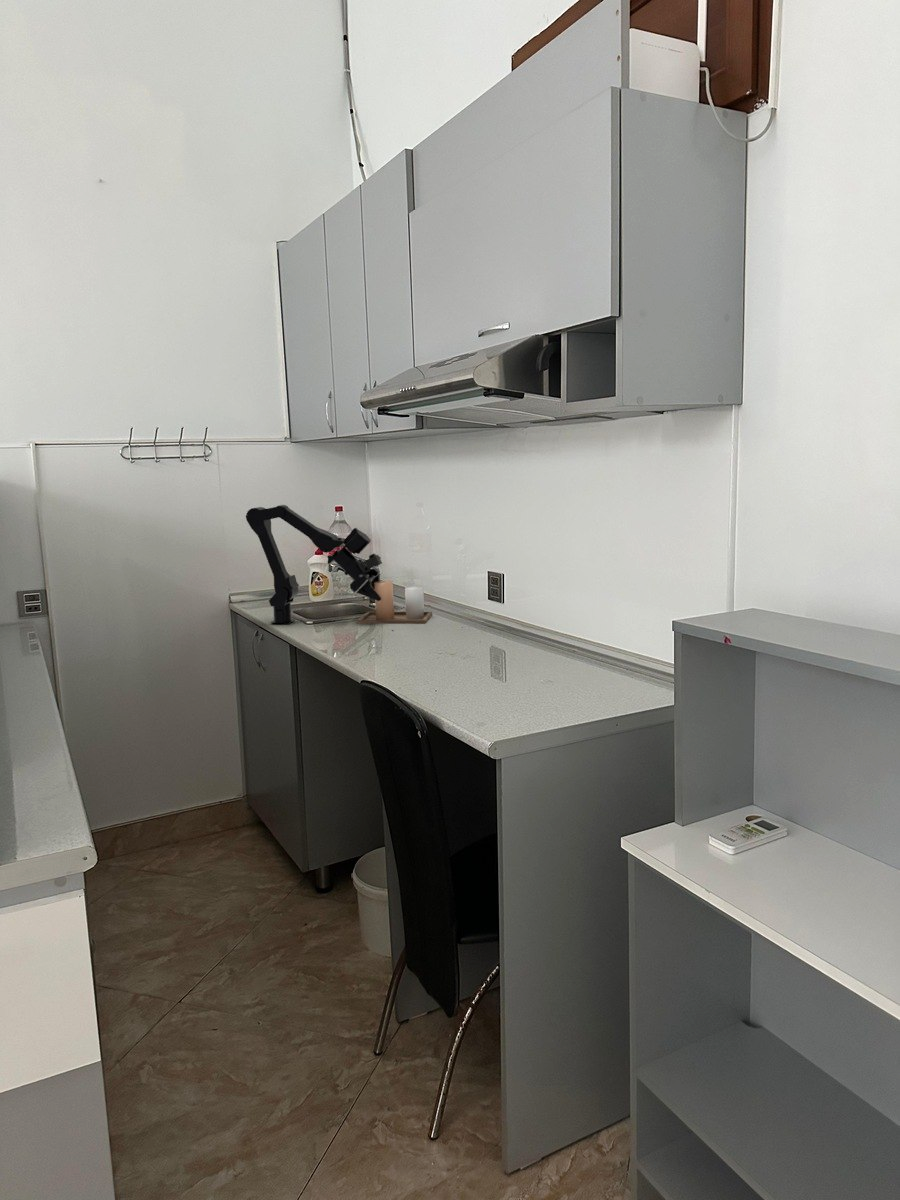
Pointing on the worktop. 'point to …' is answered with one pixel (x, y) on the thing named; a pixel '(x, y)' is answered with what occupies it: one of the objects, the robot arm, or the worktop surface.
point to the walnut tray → (398, 619)
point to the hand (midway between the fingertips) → (383, 597)
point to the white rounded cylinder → (414, 602)
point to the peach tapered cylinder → (384, 600)
